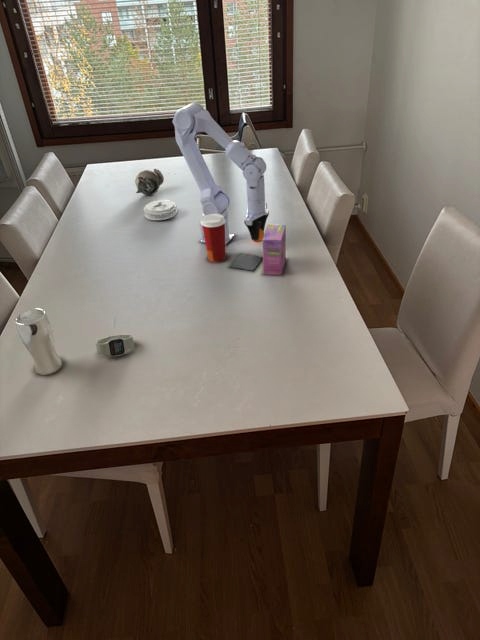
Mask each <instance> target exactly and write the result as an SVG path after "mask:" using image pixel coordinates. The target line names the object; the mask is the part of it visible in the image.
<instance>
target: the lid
mask: <svg viewBox="0 0 480 640" xmlns="http://www.w3.org/2000/svg"><path fill="white" fill-rule="evenodd" d="M143 212H144V218H145V219H147V220H150V221H163V220H168V219H171V218H173V217H175V216H177V214H178V210H177V204H176V203H175V202H173V201H172V200H170V199H169V200H168V199H158V200H154V201H150V202H148V203H147V204H146V205H145V206H144V207H143Z"/></svg>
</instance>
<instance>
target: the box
mask: <svg viewBox="0 0 480 640" xmlns="http://www.w3.org/2000/svg"><path fill="white" fill-rule="evenodd" d="M286 231H287V225H285V224H267V225H266V229H265V230H264V237H263V239H262V257H263V259H262V274H263V275H268V276H282V274H283V271H284V267H285V263H286V260H287V258H286V257H287V256H286V255H287V253H286V249H287V248H286V240H287V239H286V238H287V232H286Z"/></svg>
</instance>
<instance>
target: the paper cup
mask: <svg viewBox="0 0 480 640" xmlns="http://www.w3.org/2000/svg"><path fill="white" fill-rule="evenodd" d="M225 222H226V220H225V219H224V217H223V216H222V215H220V214H209V215H206V216H204V217H203V218H202V221H201V222H200V221H199V224H200V223H201V225H202V227H203V232H204V238H205V249H206V253H207V258H208V261H209V262H211V263H222V262H223V261H225V260H226V245H225Z"/></svg>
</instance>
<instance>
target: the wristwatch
mask: <svg viewBox="0 0 480 640" xmlns="http://www.w3.org/2000/svg"><path fill="white" fill-rule="evenodd" d="M133 347H135V344H134V338H133V334H131V333H122V334H111V335H108V336H106V337H103V338H100V339H99V340H97V341H95V348H96V352H97V354H99V355H106V356H111V357H113V358H116V357H119V356H124V354H125V353H126V352H127V351H129V350H130V349H132V348H133Z"/></svg>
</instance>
